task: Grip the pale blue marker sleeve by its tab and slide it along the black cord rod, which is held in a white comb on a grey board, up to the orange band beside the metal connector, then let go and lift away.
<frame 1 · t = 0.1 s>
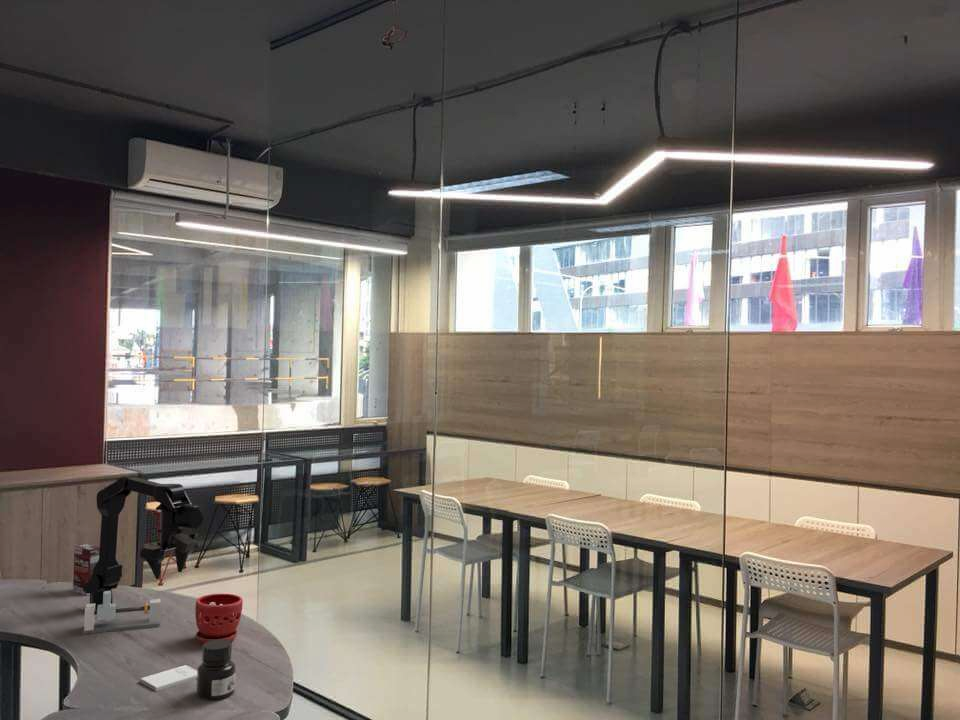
hand: (169, 575, 240), 15 cm above the table, tool pointing down, fingers open, 9 cm apart
ink bottle: (215, 694, 190), on the table
cord board: (122, 626, 235), on the table
plant pot: (218, 640, 227), on the table
external hard drive: (170, 682, 198), on the table
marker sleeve: (106, 605, 234), point 7 cm above the table, slide at -4.5 cm
supplement box: (86, 592, 270), on the table
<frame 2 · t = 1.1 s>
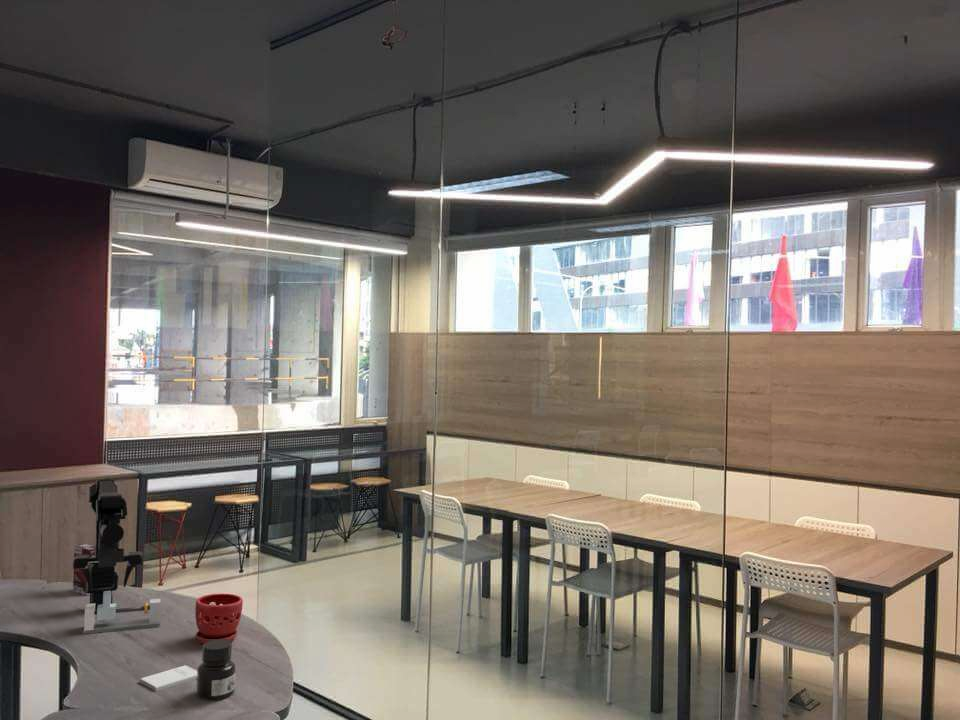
hand: (107, 588, 234), 12 cm above the table, tool pointing down, fingers open, 9 cm apart
nothing on the table moved.
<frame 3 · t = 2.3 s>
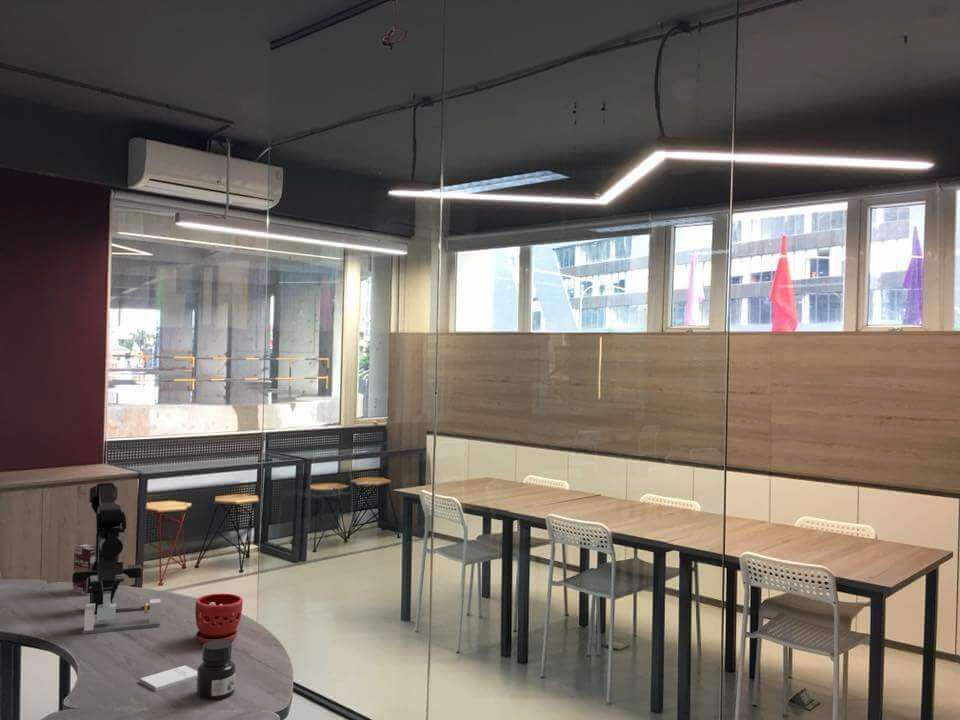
hand: (106, 601, 234), 8 cm above the table, tool pointing down, fingers closed on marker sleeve, 2 cm apart
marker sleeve: (106, 605, 234), point 7 cm above the table, slide at -4.5 cm, touching gripper
everything else where it was.
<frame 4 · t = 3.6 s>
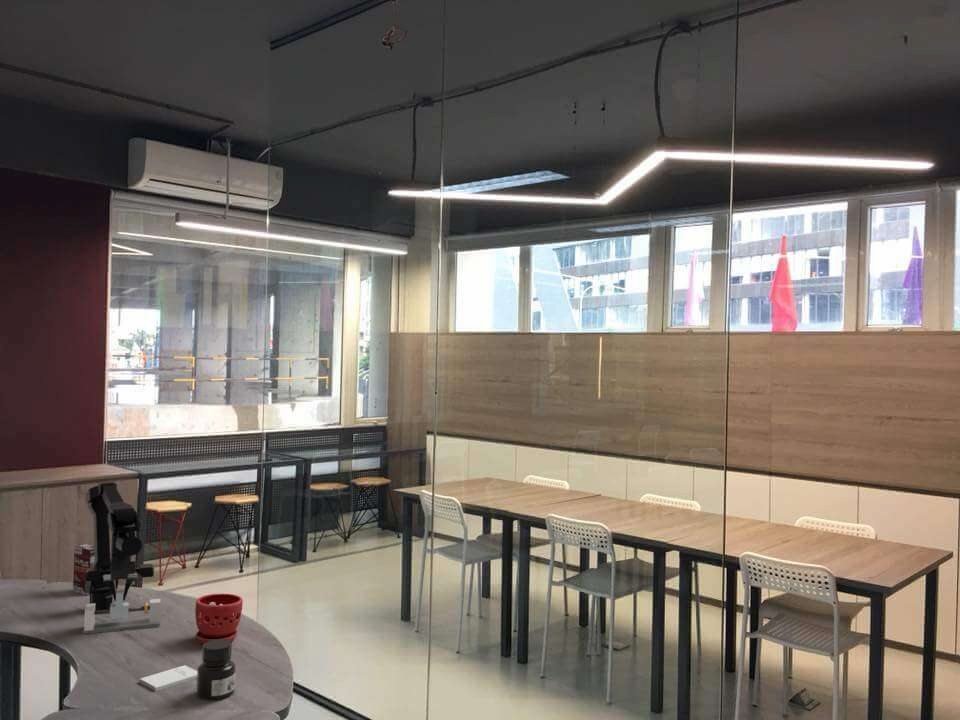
hand: (119, 600, 235), 8 cm above the table, tool pointing down, fingers closed on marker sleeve, 2 cm apart
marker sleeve: (119, 604, 235), point 7 cm above the table, slide at -1.0 cm, touching gripper
everything else where it was.
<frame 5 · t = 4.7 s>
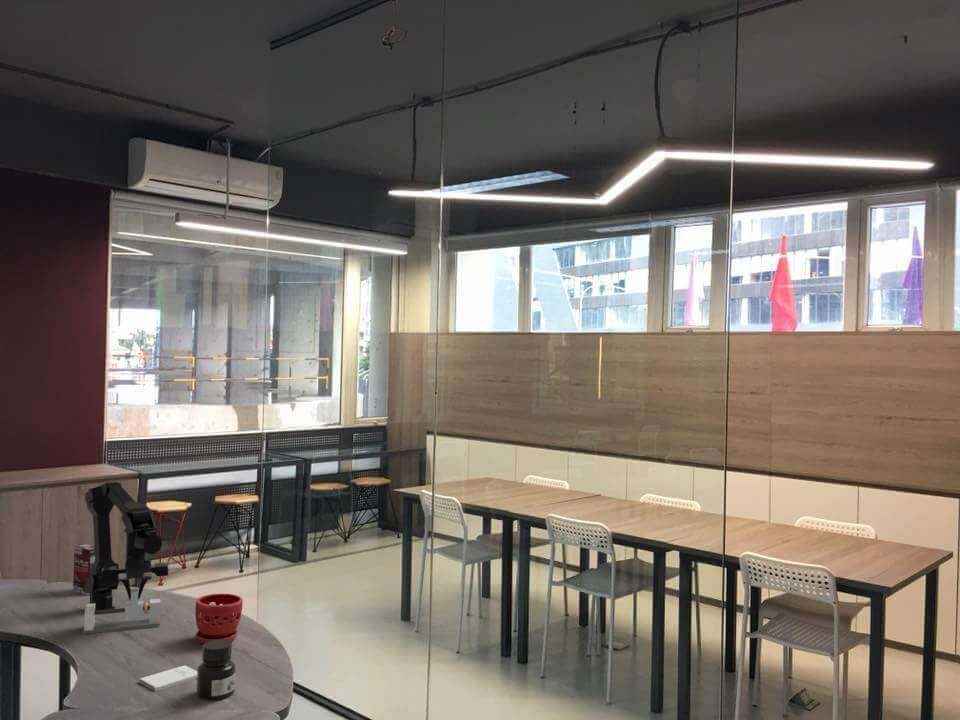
hand: (134, 599, 237), 8 cm above the table, tool pointing down, fingers closed on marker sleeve, 2 cm apart
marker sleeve: (134, 602, 237), point 7 cm above the table, slide at 3.1 cm, touching gripper
everything else where it was.
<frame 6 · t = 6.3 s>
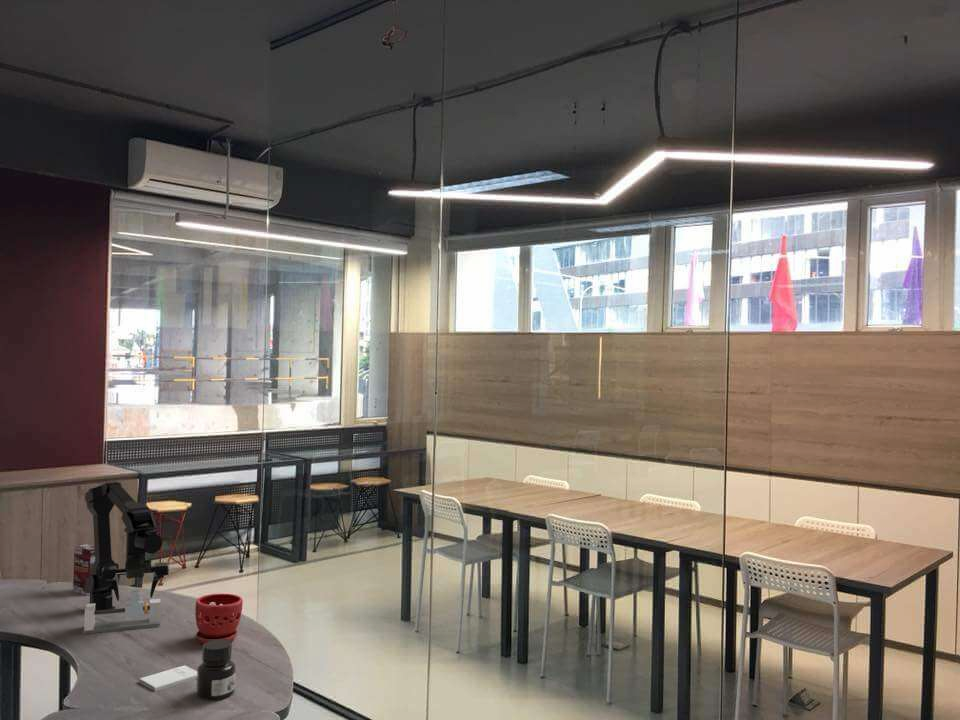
hand: (134, 599, 237), 8 cm above the table, tool pointing down, fingers open, 9 cm apart
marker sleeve: (134, 602, 237), point 7 cm above the table, slide at 3.1 cm
everything else where it was.
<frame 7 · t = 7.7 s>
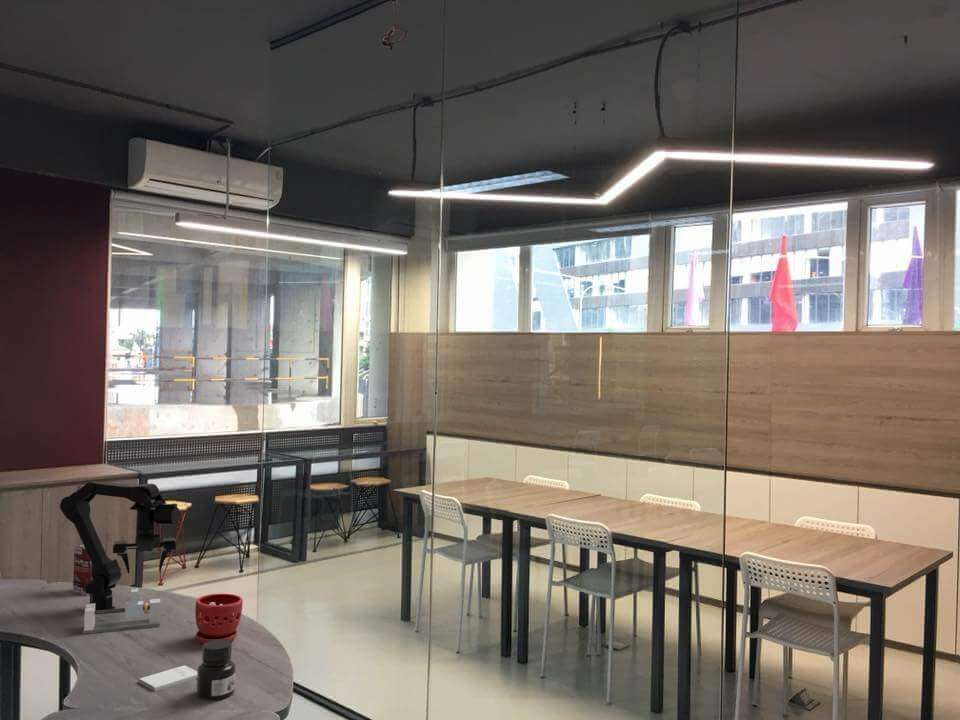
hand: (144, 572, 250), 13 cm above the table, tool pointing down, fingers open, 9 cm apart
nothing on the table moved.
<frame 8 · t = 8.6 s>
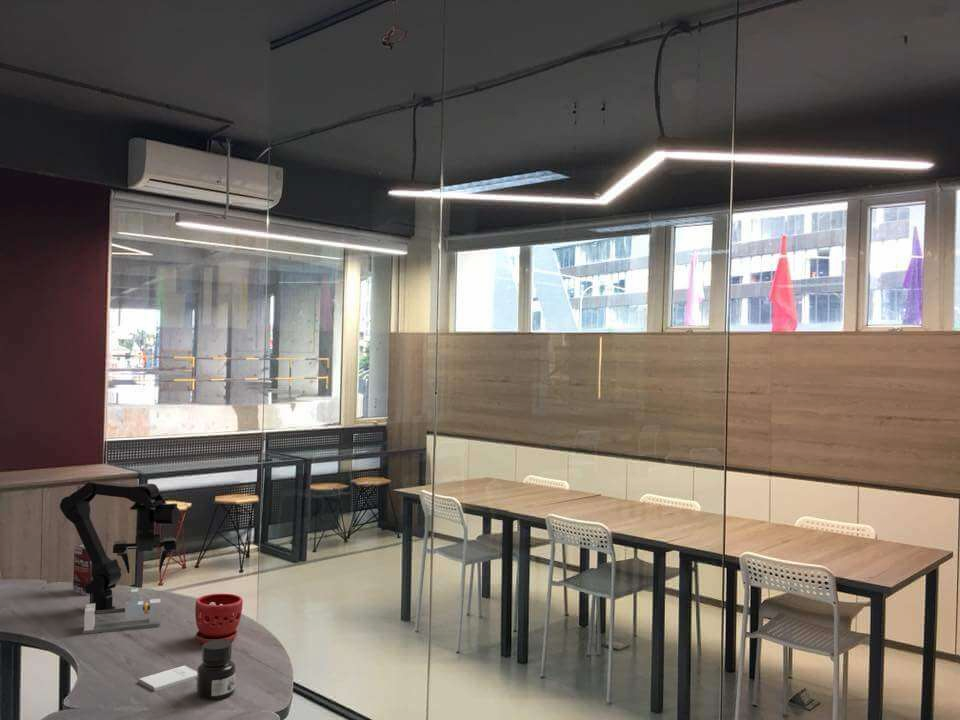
hand: (144, 572, 250), 13 cm above the table, tool pointing down, fingers open, 9 cm apart
nothing on the table moved.
at the end: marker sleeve slide at 3.1 cm; the gripper is holding nothing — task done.
